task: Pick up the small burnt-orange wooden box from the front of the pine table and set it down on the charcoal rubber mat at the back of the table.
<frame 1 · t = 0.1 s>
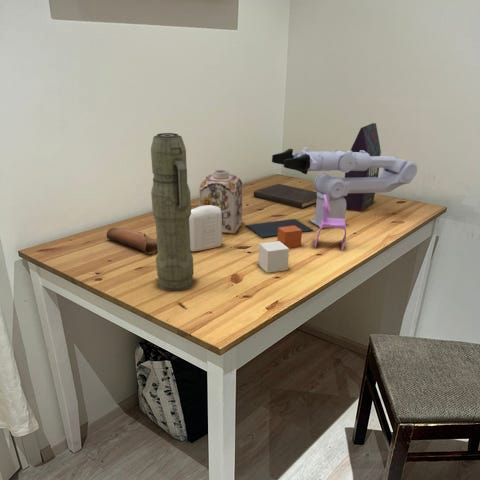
hand: (278, 161, 145), 22 cm above the table, tool horizontal, fingers open, 7 cm apart
orange box: (288, 244, 145), on the table
toy chair: (329, 245, 145), on the table
back mat: (279, 228, 157), on the table
photo printer: (205, 248, 142), on the table
hardcover book: (289, 198, 188), on the table
sunglasses case: (136, 244, 144), on the table
thermos: (176, 283, 121), on the table
white cube: (272, 267, 130), on the table
decorative box: (357, 205, 182), on the table
decorative jar: (221, 227, 158), on the table
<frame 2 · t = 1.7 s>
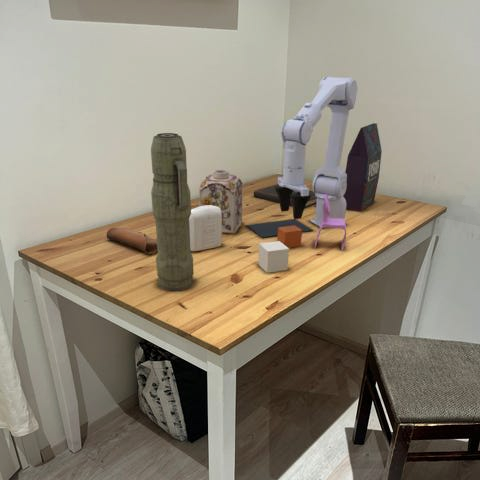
hand: (290, 214, 140), 9 cm above the table, tool pointing down, fingers open, 7 cm apart
nothing on the table moved.
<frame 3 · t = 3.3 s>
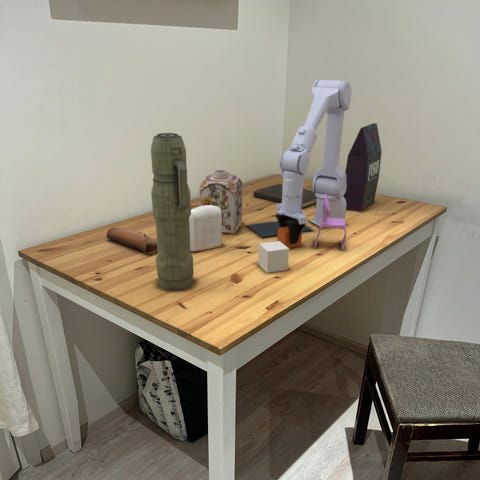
hand: (289, 240, 144), 1 cm above the table, tool pointing down, fingers closed on orange box, 4 cm apart
orange box: (288, 244, 145), on the table, touching gripper
everything else where it was.
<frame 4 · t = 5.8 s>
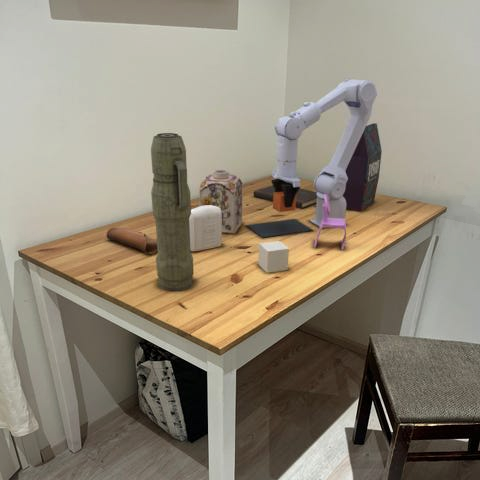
hand: (284, 204, 152), 8 cm above the table, tool pointing down, fingers closed on orange box, 4 cm apart
orange box: (284, 209, 153), point 7 cm above the table, touching gripper
everything else where it was.
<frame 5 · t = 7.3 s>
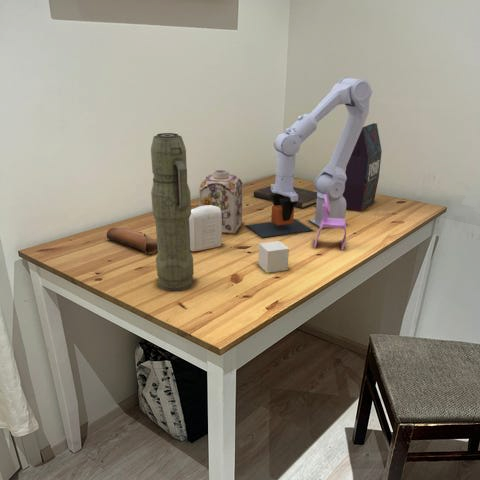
hand: (282, 217, 156), 3 cm above the table, tool pointing down, fingers closed on orange box, 4 cm apart
orange box: (282, 222, 157), point 2 cm above the table, touching gripper
everything else where it was.
when the fingers open (2 cm above the table, at t = 8.4 s): orange box stays where it is, resting on back mat.
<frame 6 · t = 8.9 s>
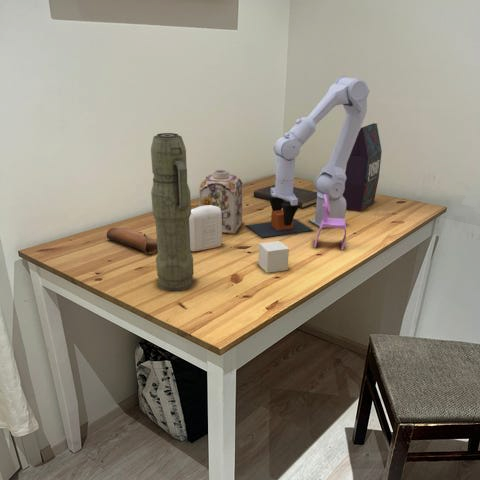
hand: (282, 221, 157), 2 cm above the table, tool pointing down, fingers open, 7 cm apart
orange box: (281, 227, 158), resting on back mat
everything else where it was.
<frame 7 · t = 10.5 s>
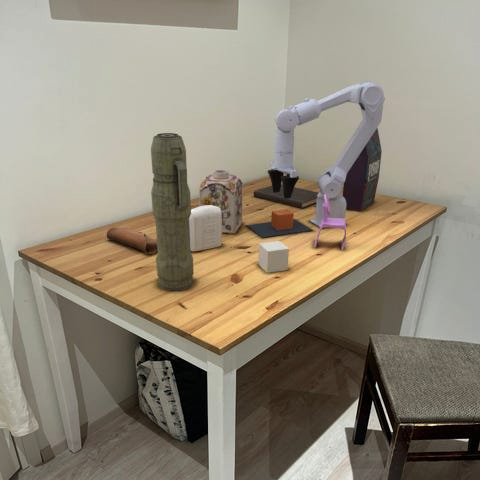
hand: (281, 195, 158), 9 cm above the table, tool pointing down, fingers open, 7 cm apart
nothing on the table moved.
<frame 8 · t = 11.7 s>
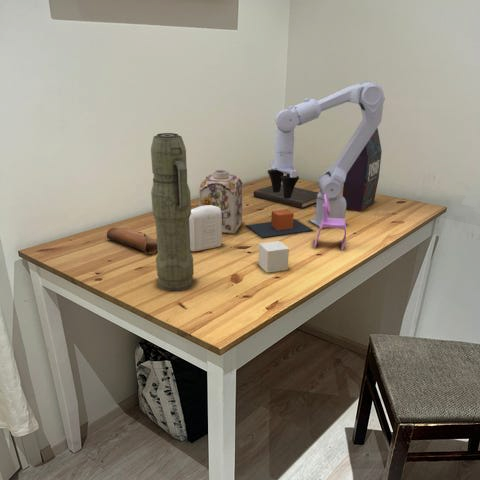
hand: (281, 195, 158), 9 cm above the table, tool pointing down, fingers open, 7 cm apart
nothing on the table moved.
at the end: orange box inside the target area on the back mat (0.9 cm from its centre), point 0.4 cm above the back mat's base; orange box tilted 0°; the gripper is holding nothing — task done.
